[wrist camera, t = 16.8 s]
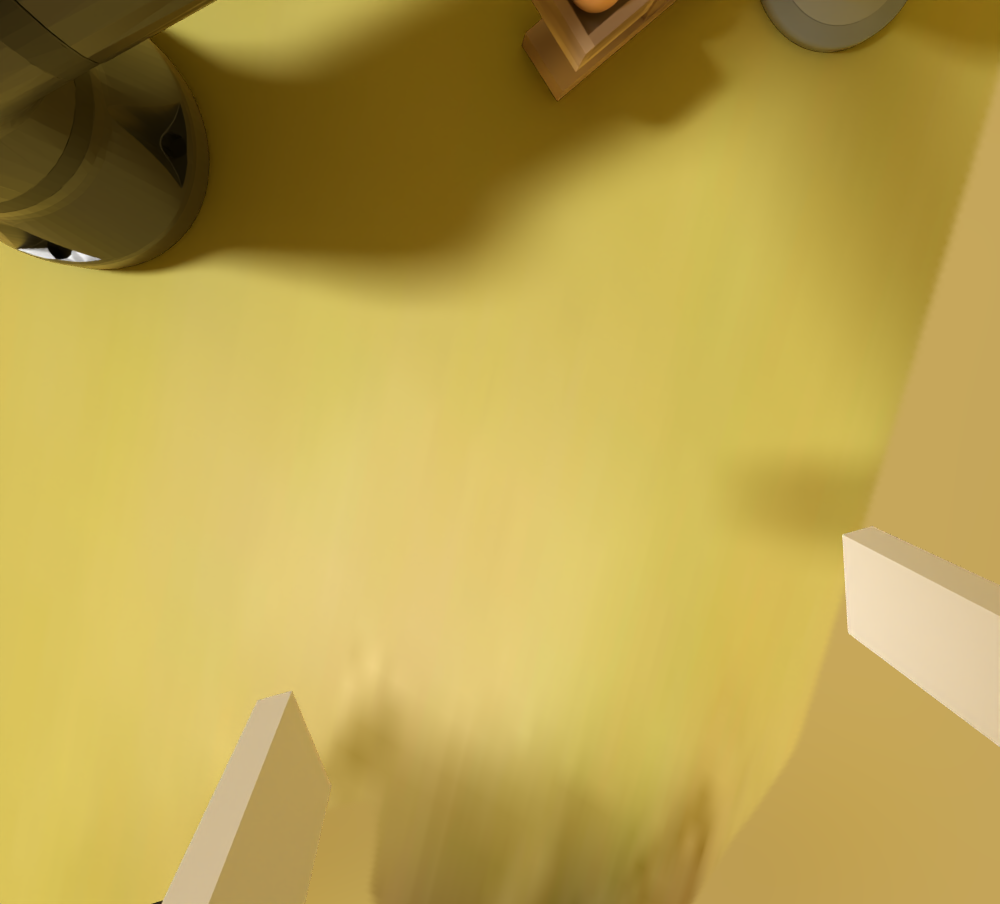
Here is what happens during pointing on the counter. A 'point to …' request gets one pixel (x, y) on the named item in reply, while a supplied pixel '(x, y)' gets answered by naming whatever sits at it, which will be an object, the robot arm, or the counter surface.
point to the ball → (594, 5)
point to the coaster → (830, 21)
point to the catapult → (582, 37)
